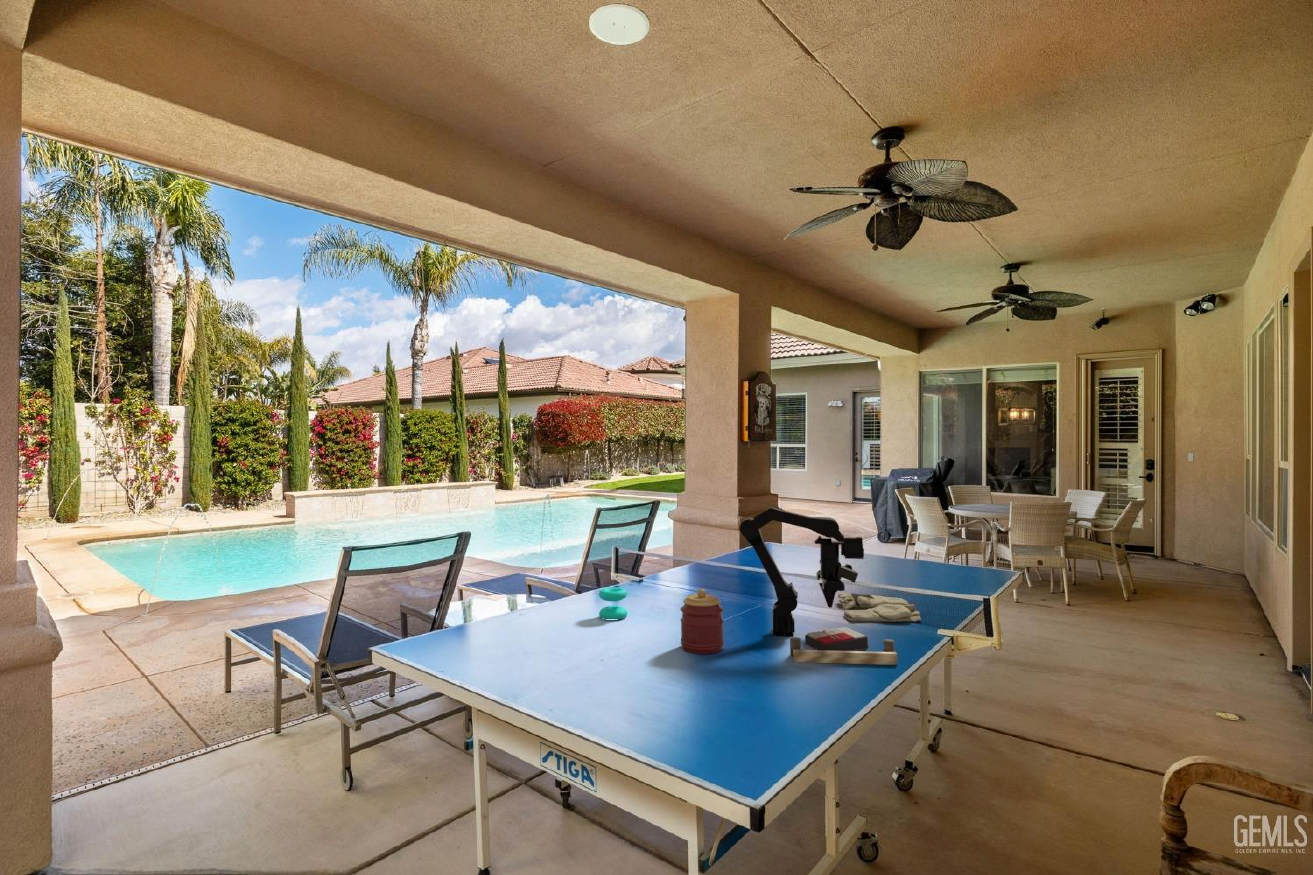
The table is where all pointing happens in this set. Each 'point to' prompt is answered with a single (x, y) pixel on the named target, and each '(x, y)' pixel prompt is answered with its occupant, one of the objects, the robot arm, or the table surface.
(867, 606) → the pair of gloves
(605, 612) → the donuts
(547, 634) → the table surface
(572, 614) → the table surface
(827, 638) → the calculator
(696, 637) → the canister
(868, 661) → the seat bracket
